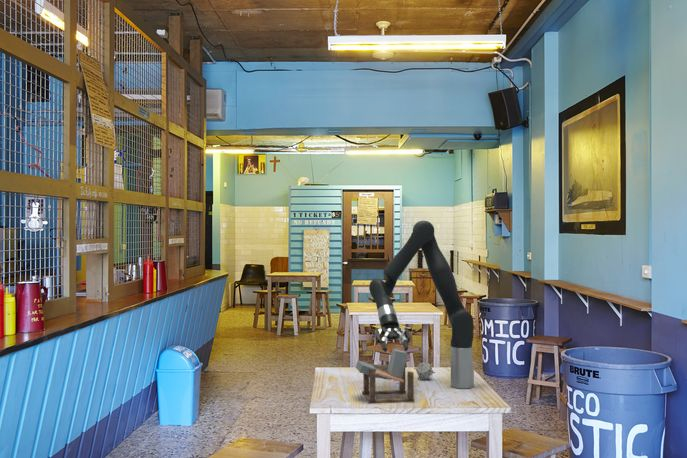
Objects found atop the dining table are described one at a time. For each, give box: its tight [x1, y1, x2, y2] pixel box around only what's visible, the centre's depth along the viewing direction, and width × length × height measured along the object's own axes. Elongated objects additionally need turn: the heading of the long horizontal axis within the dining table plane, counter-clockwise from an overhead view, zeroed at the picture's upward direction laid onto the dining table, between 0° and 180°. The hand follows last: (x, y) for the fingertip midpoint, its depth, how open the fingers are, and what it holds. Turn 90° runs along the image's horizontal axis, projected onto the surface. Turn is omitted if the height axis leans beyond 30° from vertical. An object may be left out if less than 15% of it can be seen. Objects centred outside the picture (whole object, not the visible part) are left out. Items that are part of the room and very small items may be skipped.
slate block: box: [387, 348, 408, 378], centre depth 247 cm, size 5×5×10 cm
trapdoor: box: [355, 360, 404, 383], centre depth 245 cm, size 18×11×3 cm, turn 98°
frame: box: [361, 361, 415, 404], centre depth 246 cm, size 18×15×13 cm
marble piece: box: [372, 363, 391, 380], centre depth 289 cm, size 17×15×4 cm
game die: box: [413, 360, 436, 381], centre depth 280 cm, size 9×8×10 cm
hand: (396, 350), depth 245 cm, fingers open, 8 cm apart
